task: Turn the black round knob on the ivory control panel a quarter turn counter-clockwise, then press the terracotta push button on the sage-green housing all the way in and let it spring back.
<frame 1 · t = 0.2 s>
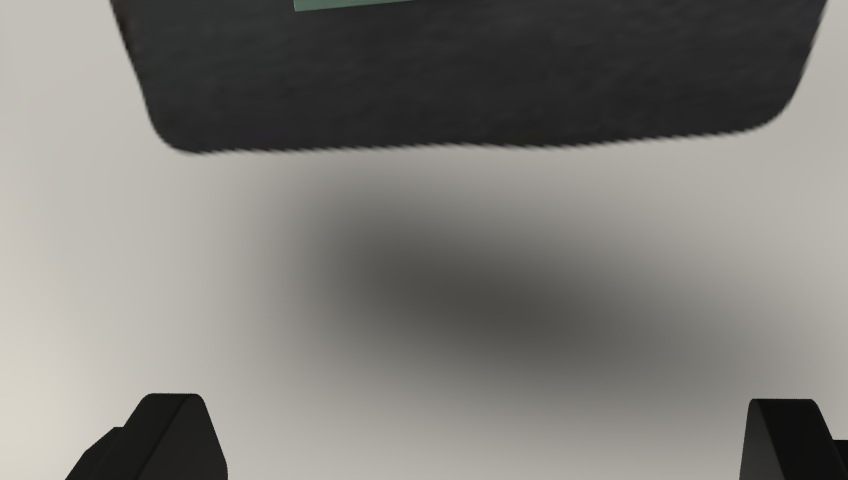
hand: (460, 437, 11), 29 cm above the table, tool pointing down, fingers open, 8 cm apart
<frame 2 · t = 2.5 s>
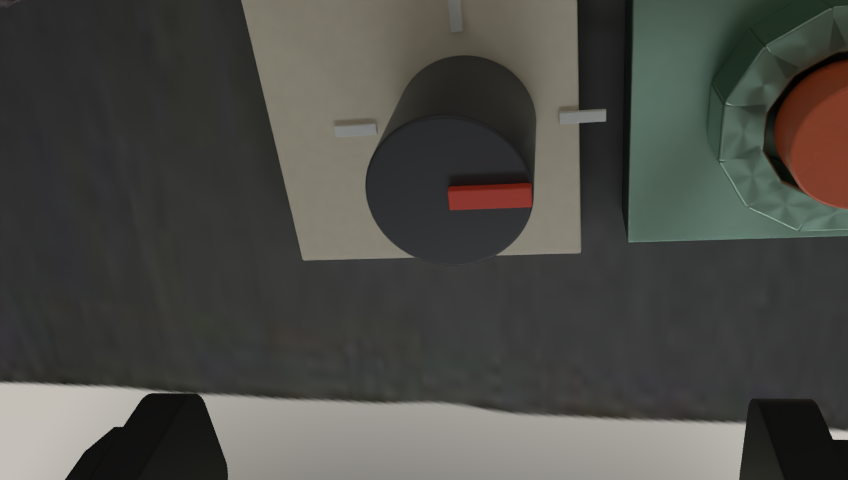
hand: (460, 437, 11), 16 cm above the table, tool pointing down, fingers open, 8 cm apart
dial: (457, 157, 21), point 5 cm above the table, hinge at 0.0°
control panel: (428, 103, 25), on the table
button box: (804, 78, 23), on the table
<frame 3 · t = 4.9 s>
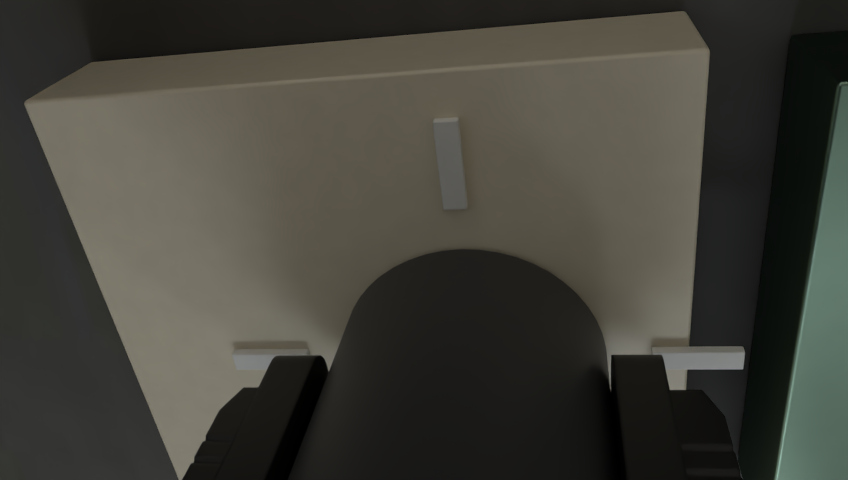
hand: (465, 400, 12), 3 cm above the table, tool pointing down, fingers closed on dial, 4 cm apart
control panel: (406, 290, 15), on the table
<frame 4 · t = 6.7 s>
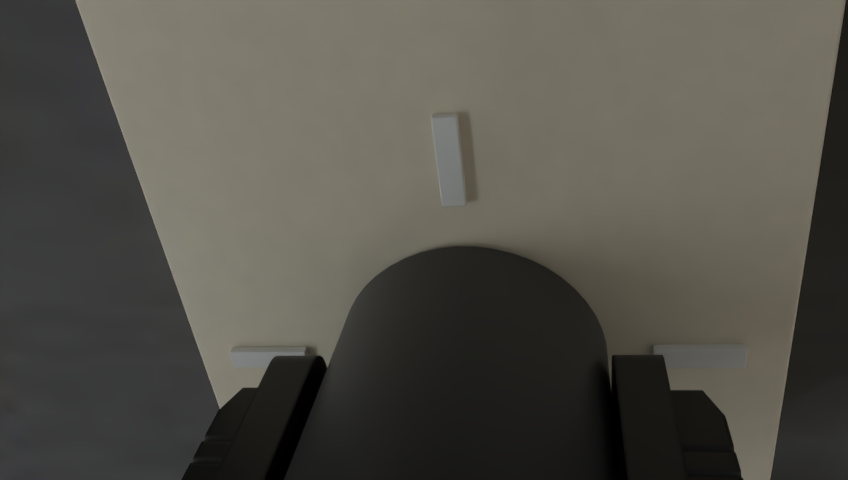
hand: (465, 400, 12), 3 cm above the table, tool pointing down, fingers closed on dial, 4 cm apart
dial: (455, 479, 10), point 5 cm above the table, hinge at 91.2°, touching gripper
control panel: (475, 217, 13), on the table
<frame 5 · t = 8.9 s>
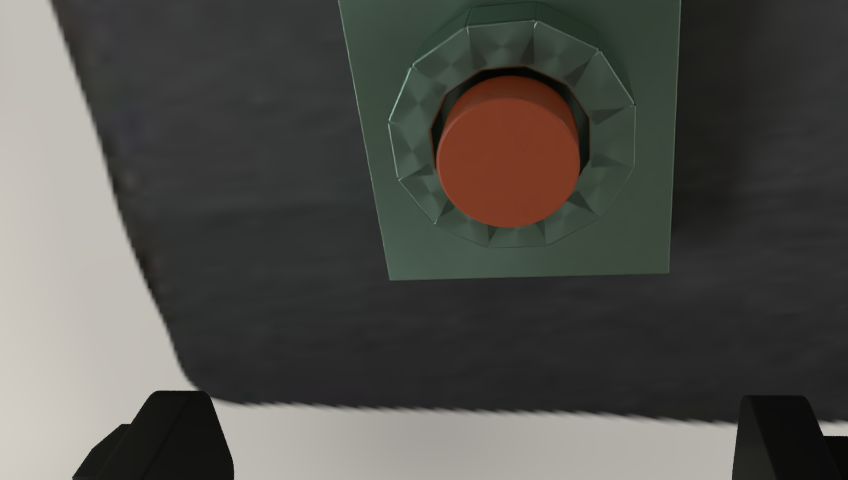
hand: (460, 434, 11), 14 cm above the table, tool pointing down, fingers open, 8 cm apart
start button: (508, 152, 19), point 4 cm above the table, slide at 0.1 cm
button box: (515, 92, 23), on the table
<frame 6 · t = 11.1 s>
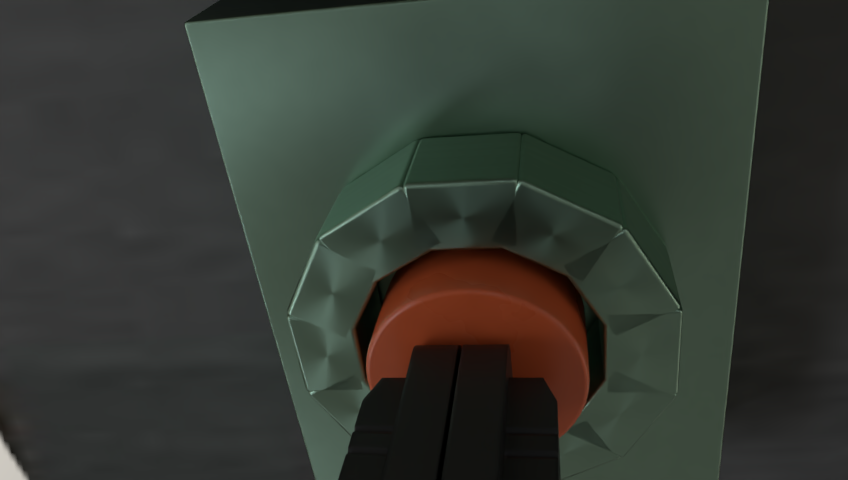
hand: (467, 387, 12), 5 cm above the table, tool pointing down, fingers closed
start button: (479, 348, 13), point 4 cm above the table, slide at -0.6 cm, touching gripper
button box: (493, 234, 16), on the table
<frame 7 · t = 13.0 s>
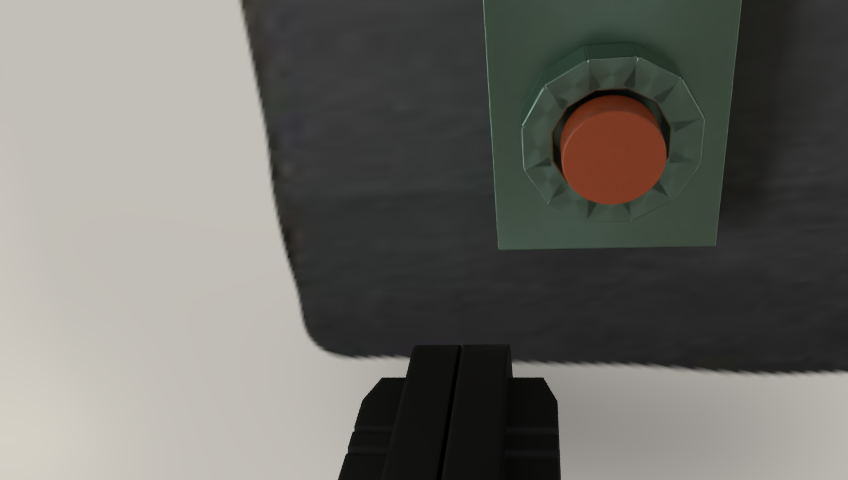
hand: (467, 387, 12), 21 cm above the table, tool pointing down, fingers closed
start button: (611, 150, 27), point 4 cm above the table, slide at 0.1 cm
button box: (602, 106, 30), on the table
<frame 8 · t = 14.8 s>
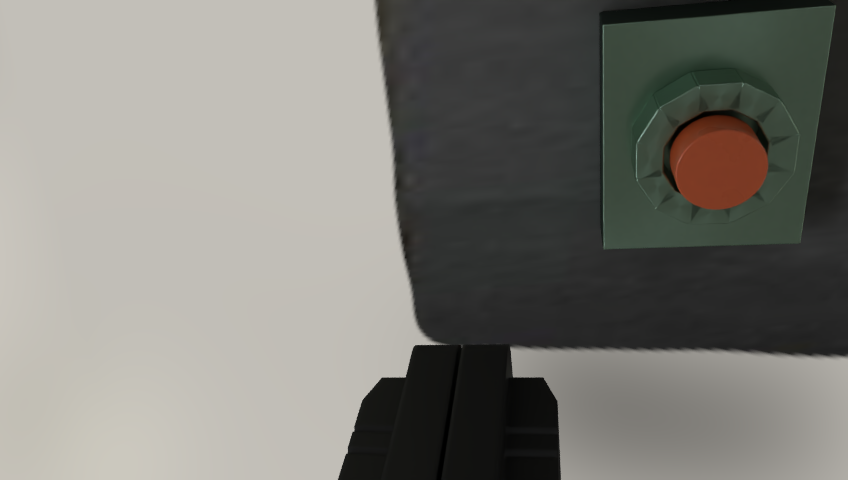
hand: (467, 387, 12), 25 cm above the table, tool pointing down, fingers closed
start button: (717, 162, 31), point 4 cm above the table, slide at 0.1 cm
button box: (698, 122, 35), on the table
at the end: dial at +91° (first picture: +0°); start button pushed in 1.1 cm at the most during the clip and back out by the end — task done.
